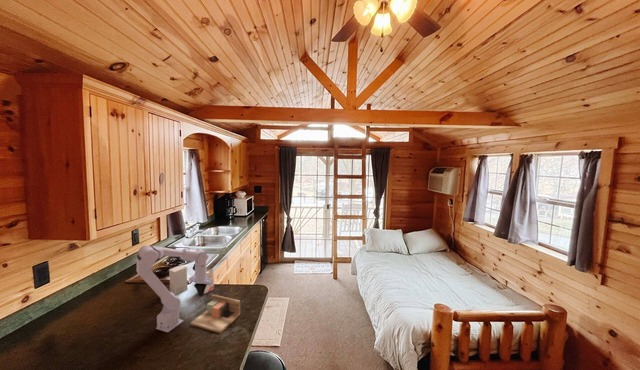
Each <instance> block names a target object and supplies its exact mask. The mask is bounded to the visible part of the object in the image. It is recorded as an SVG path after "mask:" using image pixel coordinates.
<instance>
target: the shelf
mask: <svg viewBox="0 0 640 370" xmlns="http://www.w3.org/2000/svg"><path fill="white" fill-rule="evenodd" d="M214 299H215V300H220V301H224V302H227V303H229V311H232V312H234V313H233V314H232V315H231V316H230V317H229V318H225V317H221V316H220V317H219V318H216V317H212V314H210V313H207V310H205V311H204V312H203V313H201V314H200V315H199V316H198V317H196V318H195V319H194V320H192V321H191V322H190V326H193V327H198V328H200V329H204V330H206V331H207V330H208V331H210V332H215V333H217V334H221V333H223V331H224V330H226V329H227V328H228V327H229V326H230V325H231V324H232V323H233V322H234V321H235V320H237V318H238V317H240V315H241V300H239V299H235V298H231V297H226V296H222V295H219V294H211V301H212V300H214Z"/></svg>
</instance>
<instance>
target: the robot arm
mask: <svg viewBox="0 0 640 370" xmlns="http://www.w3.org/2000/svg"><path fill="white" fill-rule="evenodd" d="M163 257H176V258H177V257H179V258H180V260H183V261H192V262H194V276H191V277H189V278H188V280H189V283H190V282H193V283H195V284H194V285H193V287H194V288H195V290H196V291H197V294H198V296H199V297H202V296H204V291H205V288H206V286H207V285H209V286H211V285H213V281H211V280H209V279H208V278H207V275H206V270H207V260H208V259H209V255H208V253H207V252H205V250H202V249H200V248H199V249H198V248H197V249H192V248H191V247H187V248H182V249H176V248H170V247H164V246H158V245H153V246H151V245H143V246H141V247H140V248H139V249H138V250H137V254H136V255H135V259H136V273H137V274H138V275H139V276H140V277H141V279H143V281H145V283H146V284H147V285H148V286H149V287H150V289H152V290H153V292H155V294H156V295H157V296H158V297H159V298H160V302H161V304H162V305H163V307H162V310H161V311H160V313H158V314H157V316H156V329H155V330H159V331H162V332H165V333H169V332H171V330H173V329H175V328H177V326H180V324H182V323H183V322H184V319H180V305H181V302H182V301H181V299H180V298H178V297H177V295H175V294H174V293H173V292H170V289H168V288H167V287H166V286H165V284H164V283H163V282H162V281H161V280H160V279H159V277H158V276H157V275H156V274H155V273H154V272H153V271H152V268H153V265H154V264H155V263H156V262H157V260H161V259H162V258H163Z"/></svg>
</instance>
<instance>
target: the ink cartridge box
mask: <svg viewBox="0 0 640 370" xmlns="http://www.w3.org/2000/svg"><path fill="white" fill-rule="evenodd" d="M206 275H207V278H208V279H209V280H211V281H213V285H211V286H209V285H207V286H206V288H205V291H204V294H205V295H206V294H207V293H209V292H211V291H214V290H215V283H214V281H215V279H214V277H215V276H214V269H213V268H210V269H206Z"/></svg>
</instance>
